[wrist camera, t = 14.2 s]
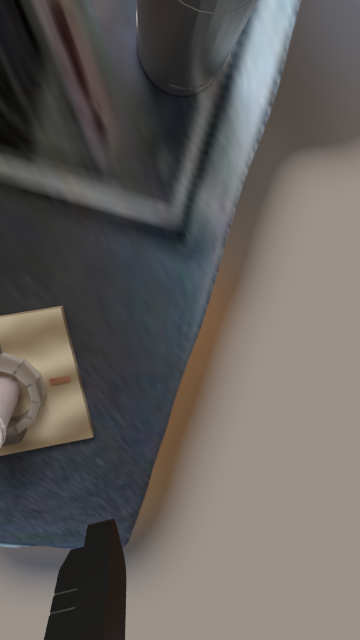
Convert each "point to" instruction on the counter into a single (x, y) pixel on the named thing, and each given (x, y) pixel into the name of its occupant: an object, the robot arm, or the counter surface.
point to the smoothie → (7, 402)
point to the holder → (42, 381)
